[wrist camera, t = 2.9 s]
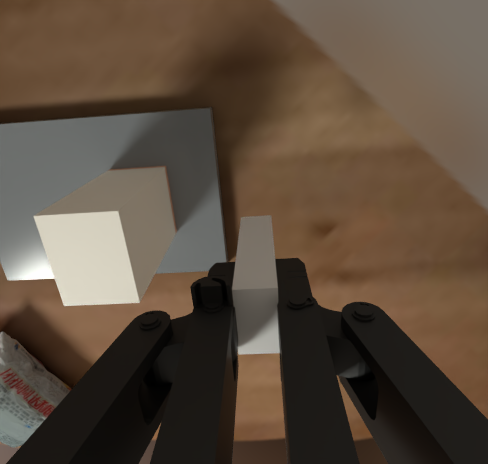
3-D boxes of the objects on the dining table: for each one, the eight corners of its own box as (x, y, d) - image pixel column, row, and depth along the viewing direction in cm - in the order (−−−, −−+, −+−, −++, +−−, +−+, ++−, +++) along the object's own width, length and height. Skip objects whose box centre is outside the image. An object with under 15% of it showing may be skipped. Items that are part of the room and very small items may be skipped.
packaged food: (18, 314, 31) (-23, 354, 27) (105, 396, 35) (82, 443, 31) (-43, 350, 33) (-90, 393, 29) (45, 423, 37) (15, 471, 33)
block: (124, 234, 26) (63, 305, 18) (109, 169, 24) (33, 215, 16) (176, 231, 26) (139, 302, 18) (166, 165, 24) (118, 211, 16)
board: (17, 272, 29) (7, 280, 28) (-40, 126, 24) (-55, 128, 23) (228, 262, 28) (227, 270, 27) (212, 106, 23) (209, 108, 22)
